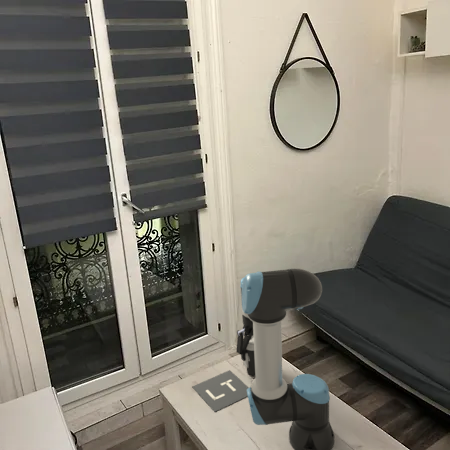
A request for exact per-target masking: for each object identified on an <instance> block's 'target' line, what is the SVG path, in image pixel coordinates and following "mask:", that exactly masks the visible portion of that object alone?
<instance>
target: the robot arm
mask: <svg viewBox="0 0 450 450" xmlns="http://www.w3.org/2000/svg"><path fill="white" fill-rule="evenodd" d="M322 293H323V285H322V282H321V280H320V278H319V277H318V276H316V275H315V274H314V273H313V272H311V271H309V270H306V269H301V268H288V269H280V270H279V269H278V270H269V271H256V272H252V273H251V272H250V273H247V274H246V275H245V276H244V277H242V278H241V279H240V297H241V299H240V300H241V314H242V324H243V327H242V328H241V330H239V329H238V330H236V334H237V335H236V336H237V338H236V339H237V341H236V353H237V354H238V355H239V356H240V358H241V360H242V365H243V366H244V367H245V369H247V368H248V354H247V353H246V351H247V349H246V348H247V346H248V344H249V341H250V339H251V337H252V336H253V335H254V356H255V376H254V377H255V378H254V379H253V380H252V381H251V386H250V387H249V388H248V389H247V395H248V397H247V399H248V403H249V408H250V414H251V417H252V422H253V423H254V424H255V425H257V426H268V425H273V424H282V423H288V422H289V423H291V425H290V428H289V431H288V440H289V443H290V445H291V447H292V448H293V449H294V450H332V449H333V447H334V445H335V434H334V430H333V428H332V425H331V423H330V397H331V396H330V388H329V386H328V384H327V383H326V381H325V380H323V379H322V378H321V377H319V376H317V375H315V374H310V373H302V374H298V375H297V376H295V377H294V378H293V380H292V383H287V381H286V379H284V378H283V345H282V344H283V343H282V340H283V336H282V334H283V333H282V321H284V320H285V319H286V316H287V311H288V312H289V311H297V310H302V309H304V307H308V306H310V305H311V306H312V305H313V304H315V303H317V302H318V301H319V299H320V298H321V296H322ZM248 335H249V336H248Z"/></svg>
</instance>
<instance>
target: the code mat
mask: <svg viewBox="0 0 450 450" xmlns="http://www.w3.org/2000/svg"><path fill="white" fill-rule="evenodd" d="M248 388H250V387H249V386H248V385H246V384H245V383H244V382H243V381H242V380H241V379H240V378H239V377H238V376H237V375H236V374H235V373H233V372H232V371H231V370H230V369H229V370H227V371H224V372H222V373H220V374H218V375H215V376H213V377H211V378H208V379H206V380H204V381H202V382H199V383H197V384H194V385H193V386H192V389H193V391H195V392H196V393H197V395H198V396H199V397H200V398H201V399H202V400H203V401H204V402H205V403H206V404H207V405H208V406H209V408H211V410H212V411H213V412H214V413H216V412H218V411H220V410H222V409H225V408H227V407H229V406H231V405H233V404H235V403H237V402H240V401H241V400H244V399H246V398H248V395H247V389H248Z"/></svg>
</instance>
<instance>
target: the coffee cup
mask: <svg viewBox="0 0 450 450" xmlns="http://www.w3.org/2000/svg"><path fill="white" fill-rule="evenodd" d="M248 336H249V335H248ZM246 349H247V351H246V353H247V354H248V368H246V373H247V374H248V375H250V376H253V377H255V356H254V335H253V336H252V337H251V339H250V341H249V344H248V346H247V348H246Z"/></svg>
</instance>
